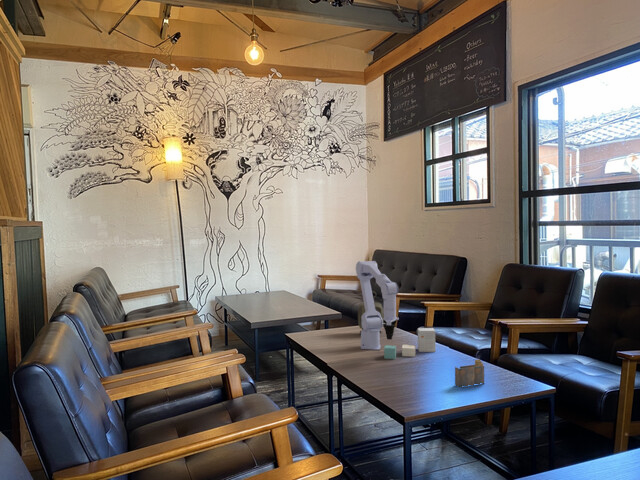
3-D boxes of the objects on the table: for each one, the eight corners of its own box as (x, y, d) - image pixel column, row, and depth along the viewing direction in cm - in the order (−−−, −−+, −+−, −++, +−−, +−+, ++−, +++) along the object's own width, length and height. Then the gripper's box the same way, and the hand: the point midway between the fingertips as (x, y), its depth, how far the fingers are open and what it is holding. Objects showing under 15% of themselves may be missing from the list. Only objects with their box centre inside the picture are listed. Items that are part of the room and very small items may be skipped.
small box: (433, 349, 226) (433, 328, 226) (435, 352, 221) (435, 330, 220) (417, 348, 227) (417, 327, 227) (418, 351, 221) (418, 330, 221)
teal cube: (384, 358, 211) (384, 348, 211) (385, 355, 216) (385, 345, 216) (395, 359, 210) (395, 348, 210) (395, 356, 215) (395, 345, 215)
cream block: (402, 356, 215) (402, 347, 215) (402, 352, 221) (402, 344, 221) (415, 357, 214) (415, 348, 214) (415, 353, 220) (415, 345, 219)
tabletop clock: (383, 332, 261) (382, 289, 260) (384, 336, 252) (383, 292, 251) (358, 332, 262) (357, 289, 261) (357, 336, 253) (357, 291, 252)
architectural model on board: (479, 382, 179) (479, 358, 178) (484, 385, 176) (484, 360, 175) (454, 386, 175) (454, 361, 175) (459, 388, 172) (459, 363, 172)
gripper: (397, 311, 204) (397, 341, 205) (399, 305, 218) (399, 334, 219) (381, 311, 206) (382, 340, 206) (384, 305, 220) (384, 333, 220)
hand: (390, 337), depth 213 cm, fingers open, 7 cm apart
